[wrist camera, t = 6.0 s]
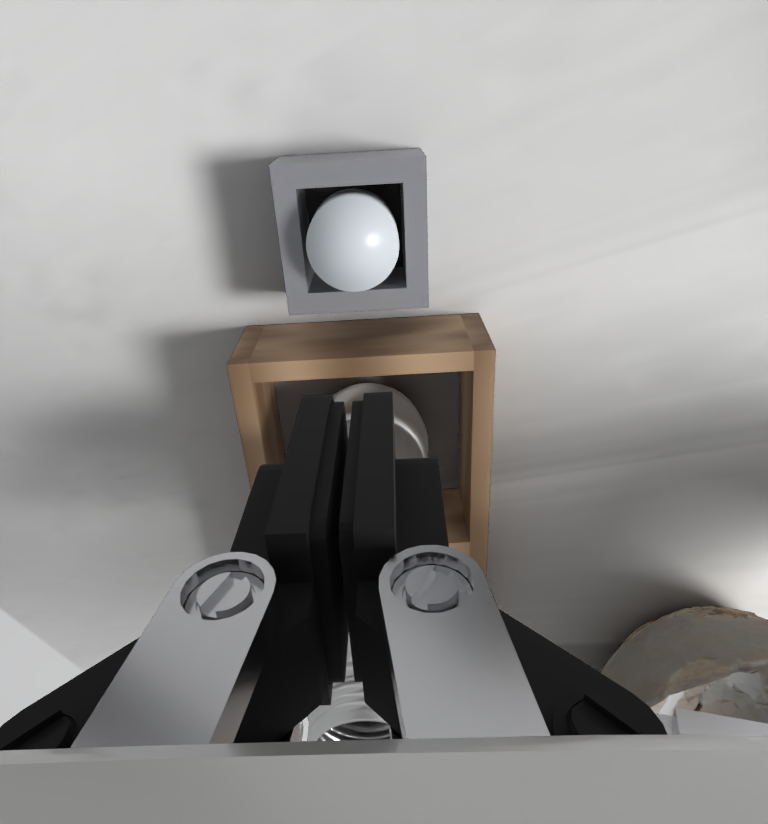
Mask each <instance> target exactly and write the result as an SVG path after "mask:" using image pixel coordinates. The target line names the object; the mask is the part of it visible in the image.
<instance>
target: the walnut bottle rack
mask: <svg viewBox="0 0 768 824" xmlns="http://www.w3.org/2000/svg"><path fill="white" fill-rule="evenodd" d="M495 356H496V349H495V347H494V345H493V343H492V341H491V339H490V336H489V334H488V332H487V330H486V328H485V326H484V323H483V321H482V319H481V317H480V315H479V313H474V314H456V315H438V316H420V317H402V318H384V319H366V320H348V321H330V322H312V323H294V324H276V325H258V326H246V328H245V330H244V332H243V334H242V336H241V338H240V339H239V341H238V343H237V345H236V347H235V349H234V351H233V353H232V355H231V357H230V359H229V361H228V363H227V369H228V375H229V380H230V385H231V390H232V395H233V400H234V405H235V410H236V415H237V420H238V425H239V431H240V436H241V441H242V446H243V451H244V456H245V461H246V466H247V471H248V476H249V481H250V487H251V489H252V486H253V483H254V480H255V478H256V475H257V472H258V469H259V467H260V466H261V465H263V464H284V461H285V458H286V456H285V450H284V444H283V437H282V431H281V425H280V418H279V412H278V405H277V399H276V393H275V386H274V382H275V381H294V380H312V379H330V378H349V377H367V376H385V375H404V374H422V373H440V372H458V371H460V381H459V480H458V489H441V491H442V498H443V506H444V513H445V521H446V528H447V536H448V543H449V547H451V548H454V549H456V550H459V551H461V552H463V553H466V554H467V555H468V556H469V557H471V558H472V559H473V560H474V561H476V562H477V564H478V565H479V567H480V568H481V570H482V571H483V573H484V575H485V578H486V572H487V548H488V524H489V500H490V476H491V452H492V428H493V404H494V380H495Z"/></svg>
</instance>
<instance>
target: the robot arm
mask: <svg viewBox="0 0 768 824" xmlns="http://www.w3.org/2000/svg"><path fill="white" fill-rule="evenodd" d="M348 635H349V637H350V646H351V655H352V663H353V672H354V680H355V682H363V692H364V701H365V703H366V704H367V705H368V706H369V707H370V708H371V709H372V710H373V711H374V712H376V713H377V714H378V715H379V716H380V717H381V718H382V719H383V720H384V721H385V722H387V723H388V724H389V730H390V739H380V740H342V741H303V742H302V735H303V722H302V720H303V719H304V718H306V717H307V716H308V715H309V714H310V713H311V712H313V711H314V710H315V709H316V708H317V707H318V706H320V705H331V699H332V688H333V683H343V682H345V676H346V663H347V649H348ZM0 824H768V724H767V723H761V722H755V721H750V720H744V719H738V718H733V717H727V716H721V715H716V714H710V713H704V712H699V711H693V710H688V709H682V708H676V707H675V709H674V713H673V716H669V715H664V714H658V713H654V712H653V710H652V709H651V708H650V707H649V706H648V705H647V704H646V703H644V702H643V701H642V700H641V699H639V698H638V697H637V696H636V695H634V694H633V693H632V692H630V691H628V690H627V689H625V688H624V687H622V686H620V685H619V684H617V683H616V682H614V681H613V680H611V679H609V678H608V677H606V676H605V675H603V674H601V673H600V672H598V671H597V670H595V669H593V668H592V667H590V666H589V665H587V664H585V663H584V662H582V661H581V660H579V659H577V658H576V657H574V656H573V655H571V654H570V653H568V652H566V651H565V650H563V649H562V648H560V647H558V646H557V645H555V644H554V643H552V642H550V641H549V640H547V639H546V638H544V637H542V636H541V635H539V634H538V633H536V632H534V631H533V630H531V629H530V628H528V627H527V626H525V625H523V624H522V623H520V622H519V621H517V620H515V619H514V618H512V617H511V616H509V615H507V614H506V613H504V612H503V611H501V610H499V609H498V607H497V604H496V602H495V600H494V597H493V595H492V592H491V590H490V587H489V585H488V583H487V580H486V578H485V575H484V573H483V571H482V570H481V568H480V567H479V565H478V564H477V562H476V561H474V560H473V559H472V558H471V557H469V556H468V555H467V554H466V553H463V552H461V551H459V550H456V549H454V548H451V547H449V543H448V536H447V528H446V521H445V513H444V506H443V498H442V491H441V483H440V476H439V468H438V461H437V457H431V458H407V459H396V447H395V428H394V408H393V392H372V393H364V395H363V400H362V401H353V402H352V411H351V419H350V428H349V437H348V432H347V421H346V411H345V403H344V401H339V402H334V398H333V395H332V394H327V395H304V396H303V397H302V400H301V404H300V407H299V411H298V414H297V418H296V422H295V425H294V429H293V432H292V436H291V440H290V443H289V447H288V450H287V454H286V458H285V461H284V464H263V465H261V466H260V467H259V469H258V472H257V475H256V478H255V480H254V483H253V486H252V489H251V492H250V495H249V498H248V501H247V504H246V507H245V510H244V513H243V516H242V519H241V522H240V525H239V528H238V531H237V533H236V536H235V539H234V542H233V545H232V548H231V551H230V552H226V553H222V554H218V555H214V556H210V557H208V558H206V559H204V560H202V561H200V562H197V563H196V564H194V565H193V566H191V567H190V568H189V569H187V570H186V571H185V572H183V573H182V575H181V576H180V577H179V578H178V579H177V580H176V582H175V583H174V584H173V586H172V587H171V589H170V590H169V592H168V593H167V595H166V597H165V598H164V600H163V601H162V603H161V605H160V606H159V608H158V609H157V611H156V613H155V614H154V616H153V617H152V619H151V620H150V622H149V624H148V625H147V627H146V628H145V630H144V632H143V633H142V635H141V636H140V637H139V638H138V639H136V640H134V641H133V642H131V643H130V644H128V645H126V646H125V647H123V648H122V649H120V650H118V651H117V652H115V653H114V654H112V655H110V656H109V657H107V658H105V659H104V660H102V661H101V662H99V663H97V664H96V665H94V666H93V667H91V668H89V669H88V670H86V671H85V672H83V673H81V674H80V675H78V676H77V677H75V678H73V679H72V680H70V681H69V682H67V683H65V684H64V685H62V686H60V687H59V688H57V689H56V690H54V691H52V692H51V693H49V694H48V695H46V696H44V697H43V698H41V699H40V700H38V701H37V702H35V703H33V704H32V705H30V706H28V707H27V708H25V709H23V710H22V711H20V712H19V713H18V714H17V715H15V716H14V717H12V718H11V719H10V720H8V721H7V722H6V723H4V724H3V725H2V726H1V727H0Z"/></svg>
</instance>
